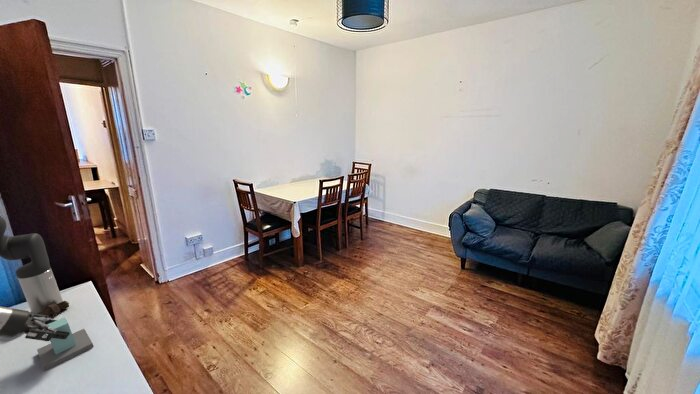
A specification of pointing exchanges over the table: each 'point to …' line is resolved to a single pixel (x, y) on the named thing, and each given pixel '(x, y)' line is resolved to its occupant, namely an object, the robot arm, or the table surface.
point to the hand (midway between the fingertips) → (65, 330)
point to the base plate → (52, 359)
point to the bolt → (54, 309)
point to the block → (61, 344)
